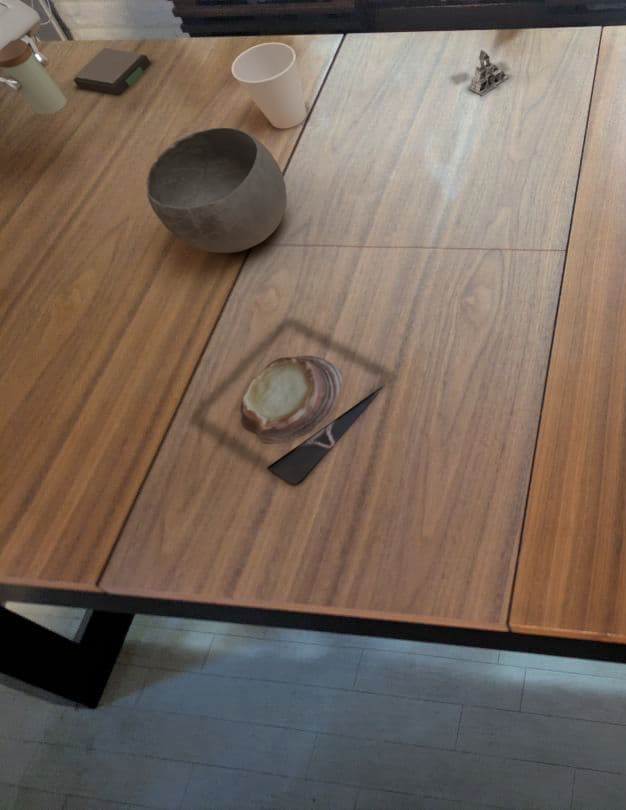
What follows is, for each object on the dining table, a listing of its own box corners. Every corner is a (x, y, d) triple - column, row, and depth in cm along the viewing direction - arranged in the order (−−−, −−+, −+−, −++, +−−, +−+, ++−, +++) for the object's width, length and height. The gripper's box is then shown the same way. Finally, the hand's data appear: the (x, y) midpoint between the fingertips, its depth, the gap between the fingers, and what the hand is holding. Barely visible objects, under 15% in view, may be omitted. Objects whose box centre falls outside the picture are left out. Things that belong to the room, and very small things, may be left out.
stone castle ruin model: (487, 61, 142) (481, 24, 136) (516, 78, 138) (511, 41, 132) (453, 83, 139) (445, 47, 133) (482, 101, 136) (475, 64, 129)
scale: (123, 99, 147) (113, 84, 144) (81, 91, 150) (71, 77, 147) (154, 67, 152) (145, 52, 149) (113, 60, 155) (103, 46, 152)
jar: (40, 119, 123) (-3, 65, 114) (30, 105, 125) (-14, 50, 116) (72, 104, 124) (31, 49, 115) (61, 89, 127) (20, 35, 118)
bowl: (249, 175, 131) (209, 105, 118) (326, 215, 123) (293, 144, 111) (163, 247, 123) (110, 180, 110) (240, 294, 116) (193, 228, 103)
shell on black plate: (390, 380, 104) (382, 364, 101) (296, 488, 96) (284, 475, 93) (290, 324, 111) (279, 308, 108) (195, 421, 104) (181, 407, 100)
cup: (302, 144, 134) (274, 85, 123) (249, 135, 137) (218, 77, 126) (330, 104, 140) (306, 45, 129) (279, 97, 142) (251, 38, 132)
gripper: (-12, -10, 121) (70, 51, 127) (-102, 62, 112) (-9, 124, 118) (-12, -34, 116) (73, 30, 122) (-106, 38, 107) (-10, 104, 113)
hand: (32, 77), depth 120 cm, fingers closed on jar, 5 cm apart
